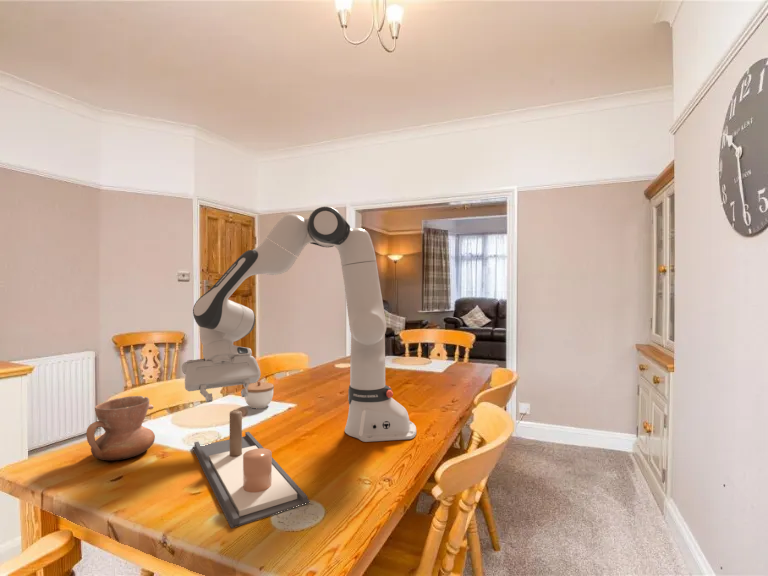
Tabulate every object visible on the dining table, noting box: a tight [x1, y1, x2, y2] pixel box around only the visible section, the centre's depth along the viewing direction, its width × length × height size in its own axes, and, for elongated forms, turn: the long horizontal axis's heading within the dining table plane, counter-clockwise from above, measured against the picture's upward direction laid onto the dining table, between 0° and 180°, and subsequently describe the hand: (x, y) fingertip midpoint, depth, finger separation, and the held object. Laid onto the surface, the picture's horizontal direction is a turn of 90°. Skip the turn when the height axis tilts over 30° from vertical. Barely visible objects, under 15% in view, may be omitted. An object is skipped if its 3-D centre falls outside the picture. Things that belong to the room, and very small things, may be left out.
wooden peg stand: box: [209, 410, 297, 517], centre depth 95 cm, size 30×12×12 cm, turn 34°
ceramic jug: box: [85, 395, 156, 461], centre depth 109 cm, size 18×14×14 cm
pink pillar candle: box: [243, 447, 273, 492], centre depth 90 cm, size 6×6×7 cm
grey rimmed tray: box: [192, 431, 310, 529], centre depth 100 cm, size 44×16×2 cm, turn 34°
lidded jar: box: [243, 380, 275, 410], centre depth 151 cm, size 11×11×9 cm
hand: (227, 398), depth 112 cm, fingers open, 8 cm apart
